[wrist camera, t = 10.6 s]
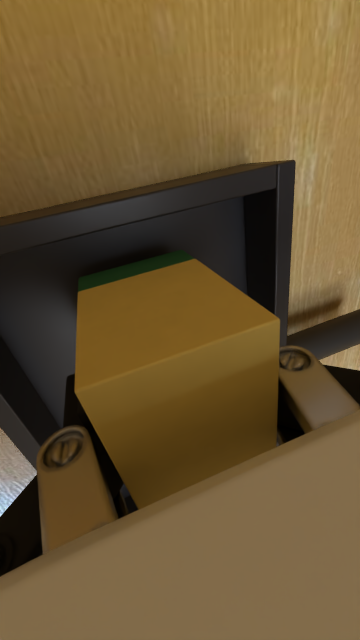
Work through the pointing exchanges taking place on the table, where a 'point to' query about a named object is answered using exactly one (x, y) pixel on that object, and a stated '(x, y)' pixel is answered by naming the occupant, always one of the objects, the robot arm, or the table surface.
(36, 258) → the pan
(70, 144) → the table surface
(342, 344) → the pan handle
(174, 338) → the sponge
